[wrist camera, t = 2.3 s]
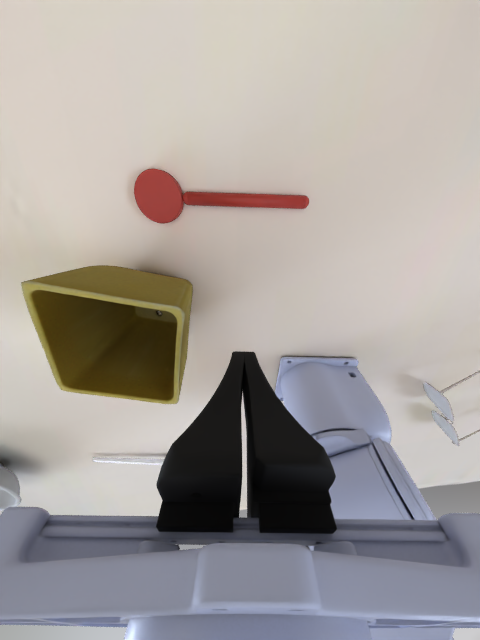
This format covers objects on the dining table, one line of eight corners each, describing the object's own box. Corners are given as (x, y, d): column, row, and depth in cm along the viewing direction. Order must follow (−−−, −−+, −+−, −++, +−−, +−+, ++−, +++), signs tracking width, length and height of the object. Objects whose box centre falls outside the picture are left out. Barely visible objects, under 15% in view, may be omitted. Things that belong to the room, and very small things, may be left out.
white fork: (91, 451, 37) (84, 462, 35) (201, 452, 37) (199, 464, 35) (97, 459, 39) (91, 471, 37) (202, 461, 39) (201, 472, 37)
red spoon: (311, 174, 15) (315, 173, 15) (302, 226, 17) (305, 228, 17) (132, 168, 15) (127, 167, 14) (143, 221, 17) (139, 222, 16)
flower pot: (109, 244, 18) (12, 280, 10) (206, 263, 19) (184, 309, 11) (120, 325, 23) (58, 391, 15) (198, 337, 23) (177, 406, 16)
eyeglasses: (419, 374, 27) (448, 399, 23) (486, 344, 25) (529, 367, 21) (434, 425, 33) (460, 451, 29) (490, 404, 31) (523, 429, 27)
